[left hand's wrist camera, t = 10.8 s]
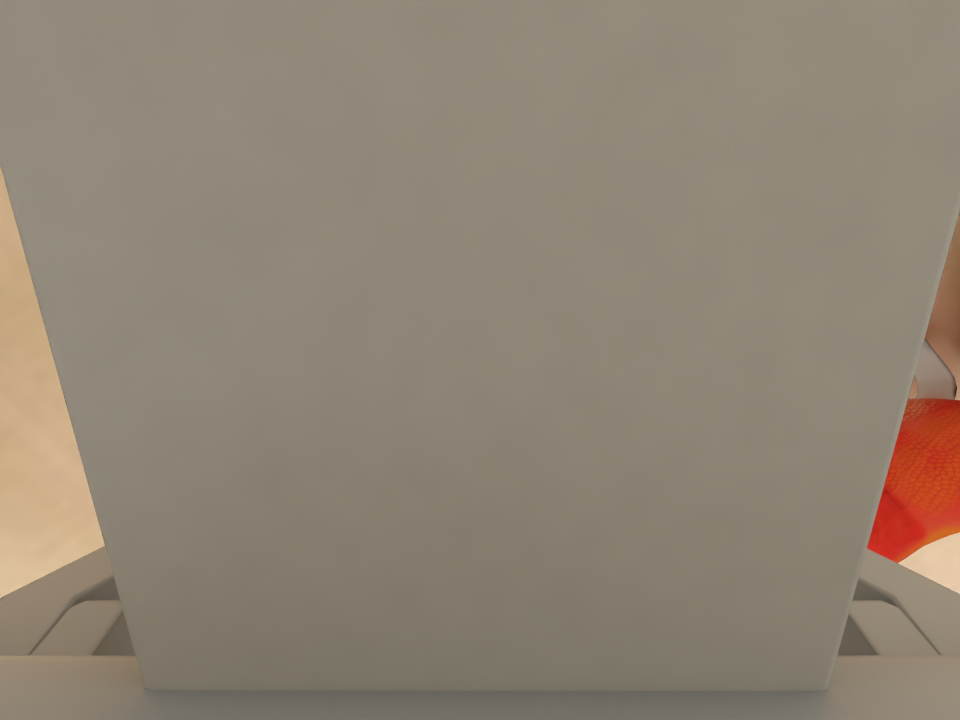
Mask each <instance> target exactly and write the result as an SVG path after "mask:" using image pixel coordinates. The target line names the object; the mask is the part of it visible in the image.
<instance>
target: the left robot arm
mask: <svg viewBox="0 0 960 720" xmlns="http://www.w3.org/2000/svg"><path fill="white" fill-rule="evenodd" d="M0 720H960V594H958V593H956V592H954V591H952V590H950V589H948V588H946V587H944V586H942V585H940V584H938V583H936V582H934V581H932V580H930V579H928V578H926V577H924V576H922V575H920V574H918V573H916V572H914V571H912V570H910V569H908V568H906V567H904V566H902V565H900V564H898V563H896V562H894V561H892V560H890V559H888V558H886V557H884V556H882V555H879V554H877V553H875V552H873V551H871V550H869V549H866V553H865V556H864V560H863V564H862V567H861V571H860V574H859V578H858V582H857V585H856V589H855V593H854V596H853V600H852V603H851V607H850V611H849V614H848V618H847V622H846V625H845V629H844V632H843V636H842V640H841V643H840V647H839V651H838V654H837V658H836V661H835V665H834V669H833V672H832V676H831V680H830V683H829V687H828V689H826V690H823V691H284V690H148V689H146V688H144V685H143V681H142V677H141V674H140V670H139V666H138V663H137V659H136V656H135V652H134V648H133V645H132V641H131V637H130V634H129V630H128V627H127V623H126V619H125V616H124V612H123V608H122V605H121V601H120V597H119V594H118V590H117V587H116V583H115V579H114V576H113V572H112V568H111V565H110V561H109V558H108V554H107V550H106V547H105V546H104V547H102V548H100V549H98V550H96V551H94V552H92V553H90V554H88V555H86V556H84V557H82V558H80V559H78V560H76V561H74V562H72V563H70V564H68V565H66V566H64V567H62V568H60V569H58V570H56V571H54V572H52V573H50V574H48V575H46V576H44V577H42V578H40V579H38V580H36V581H34V582H32V583H30V584H28V585H26V586H24V587H22V588H20V589H18V590H16V591H14V592H12V593H10V594H8V595H6V596H4V597H2V598H0Z"/></svg>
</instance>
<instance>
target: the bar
mask: <svg viewBox="0 0 960 720" xmlns="http://www.w3.org/2000/svg"><path fill="white" fill-rule="evenodd" d="M0 165H1V169H2V172H3V176H4V180H5V183H6V187H7V191H8V194H9V198H10V201H11V205H12V209H13V212H14V216H15V220H16V223H17V227H18V231H19V234H20V238H21V241H22V245H23V249H24V252H25V256H26V260H27V263H28V267H29V271H30V274H31V278H32V281H33V285H34V289H35V292H36V296H37V300H38V303H39V307H40V310H41V314H42V318H43V321H44V325H45V329H46V332H47V336H48V340H49V343H50V347H51V350H52V354H53V358H54V361H55V365H56V369H57V372H58V376H59V380H60V383H61V387H62V390H63V394H64V398H65V401H66V405H67V409H68V412H69V416H70V419H71V423H72V427H73V430H74V434H75V438H76V441H77V445H78V449H79V452H80V456H81V459H82V463H83V467H84V470H85V474H86V478H87V481H88V485H89V488H90V492H91V496H92V499H93V503H94V507H95V510H96V514H97V518H98V521H99V525H100V528H101V532H102V536H103V539H104V543H105V547H106V550H107V554H108V558H109V561H110V565H111V568H112V572H113V576H114V579H115V583H116V587H117V590H118V594H119V597H120V601H121V605H122V608H123V612H124V616H125V619H126V623H127V627H128V630H129V634H130V637H131V641H132V645H133V648H134V652H135V656H136V659H137V663H138V666H139V670H140V674H141V677H142V681H143V685H144V688H146V689H148V690H284V691H823V690H826V689H828V687H829V683H830V680H831V676H832V672H833V669H834V665H835V661H836V658H837V654H838V651H839V647H840V643H841V640H842V636H843V632H844V629H845V625H846V622H847V618H848V614H849V611H850V607H851V603H852V600H853V596H854V593H855V589H856V585H857V582H858V578H859V574H860V571H861V567H862V564H863V560H864V556H865V553H866V549H867V545H868V542H869V538H870V535H871V531H872V527H873V524H874V520H875V516H876V513H877V509H878V506H879V502H880V498H881V495H882V491H883V487H884V484H885V480H886V477H887V473H888V469H889V466H890V462H891V458H892V455H893V451H894V448H895V444H896V440H897V437H898V433H899V429H900V426H901V422H902V419H903V415H904V411H905V408H906V404H907V400H908V397H909V393H910V390H911V386H912V382H913V379H914V375H915V371H916V368H917V364H918V361H919V357H920V353H921V350H922V346H923V342H924V339H925V335H926V332H927V328H928V324H929V321H930V317H931V313H932V310H933V306H934V303H935V299H936V295H937V292H938V288H939V284H940V281H941V277H942V274H943V270H944V266H945V263H946V259H947V255H948V252H949V248H950V245H951V241H952V237H953V234H954V230H955V226H956V223H957V219H958V216H959V212H960V0H0Z"/></svg>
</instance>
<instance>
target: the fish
mask: <svg viewBox="0 0 960 720" xmlns="http://www.w3.org/2000/svg"><path fill="white" fill-rule="evenodd" d="M915 377H916V381H917V386H918V395H917V399H908V400H907V404H906V408H905V411H904V415H903V419H902V422H901V426H900V429H899V433H898V437H897V440H896V444H895V448H894V451H893V455H892V458H891V462H890V466H889V469H888V473H887V477H886V480H885V484H884V487H883V491H882V495H881V498H880V502H879V506H878V509H877V513H876V516H875V520H874V524H873V527H872V531H871V535H870V538H869V542H868V545H867V549H869V550H871V551H873V552H875V553H877V554H879V555H882V556H884V557H886V558H888V559H890V560H892V561H894V562H896V563H899V562H900V561H902V560H903V559H905V558H907V557H908V556H909V555H911V554H912V553H914V552H915V551H917V550H918V549H920V548H921V547H923V546H925V545H927V544H929V543H932V542H934V541H936V540H939V539H941V538H944V537H946V536H949V535H952V534H955V533H959V532H960V401H959V400H954V399H955V397H956V391H957V386H956V382H955V378H954V376H953V375H952V373H951V372H950V370H949V369H948V367H947V366H946V365H945V363H944V362H943V361H942V360H941V359H940V357H939V356H938V355H937V353H936V352H935V351H934V350H933V348H932V347H931V346H930V344H929V343H928V342H927V340H926V339H924V342H923V346H922V350H921V353H920V357H919V361H918V364H917V368H916V371H915Z"/></svg>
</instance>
